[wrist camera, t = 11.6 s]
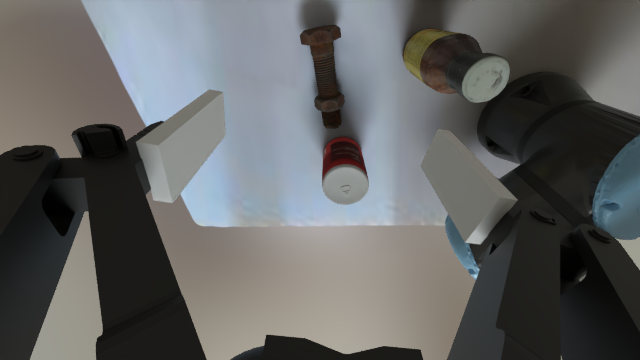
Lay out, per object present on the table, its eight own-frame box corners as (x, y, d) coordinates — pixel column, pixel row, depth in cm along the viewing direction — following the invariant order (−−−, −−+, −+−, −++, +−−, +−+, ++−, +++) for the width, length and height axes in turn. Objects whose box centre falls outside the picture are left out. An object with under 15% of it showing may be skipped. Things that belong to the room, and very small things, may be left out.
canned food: (335, 175, 52) (337, 211, 43) (315, 147, 48) (312, 179, 39) (368, 159, 49) (377, 193, 40) (349, 128, 46) (355, 158, 37)
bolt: (328, 117, 47) (315, 26, 38) (352, 120, 44) (344, 22, 35) (312, 131, 43) (293, 34, 34) (337, 135, 40) (324, 30, 31)
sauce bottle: (450, 49, 38) (542, 83, 21) (415, 81, 40) (474, 131, 24) (425, 15, 35) (509, 23, 19) (391, 51, 38) (438, 85, 22)
